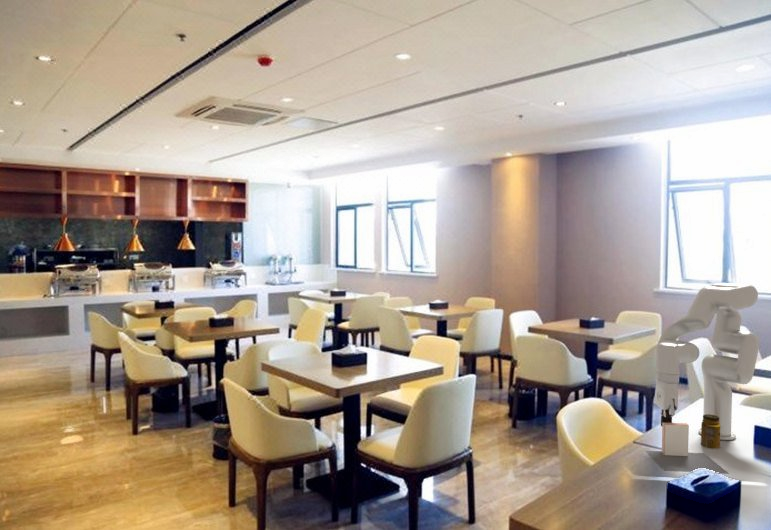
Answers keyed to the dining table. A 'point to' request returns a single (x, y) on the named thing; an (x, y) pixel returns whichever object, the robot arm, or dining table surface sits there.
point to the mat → (685, 462)
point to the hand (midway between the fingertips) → (666, 427)
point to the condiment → (710, 431)
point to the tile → (675, 439)
